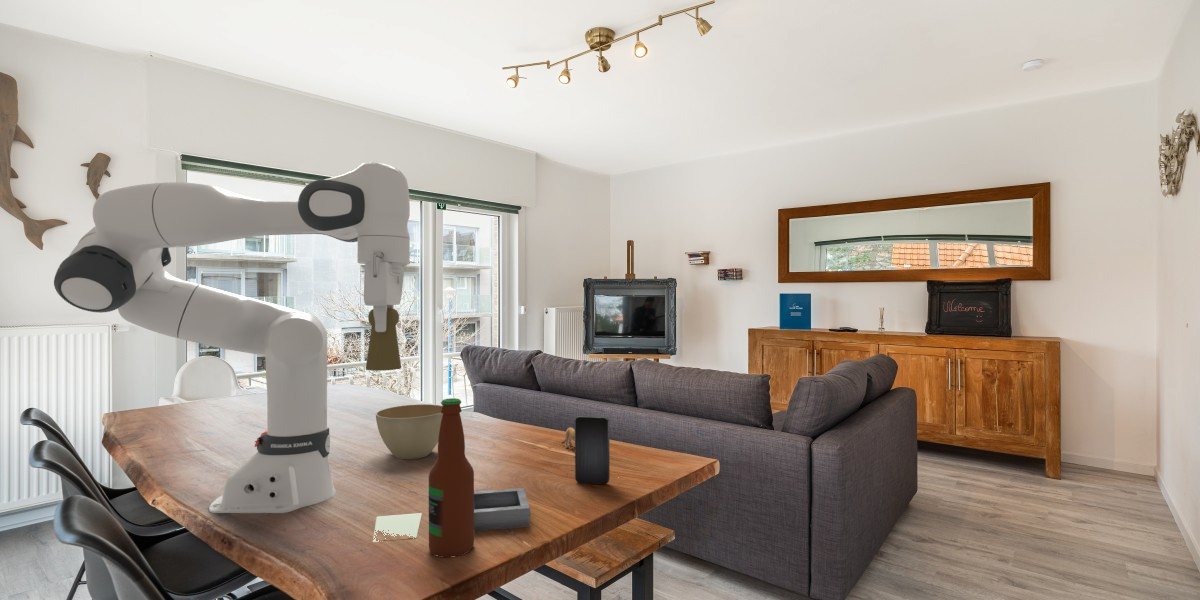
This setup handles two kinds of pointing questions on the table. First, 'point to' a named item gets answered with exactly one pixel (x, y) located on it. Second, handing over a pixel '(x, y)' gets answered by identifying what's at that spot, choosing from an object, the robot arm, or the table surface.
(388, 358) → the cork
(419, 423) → the cream bowl
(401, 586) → the table surface
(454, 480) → the bottle
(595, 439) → the phone
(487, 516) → the grey square tray
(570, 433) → the lion figurine
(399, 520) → the mat
